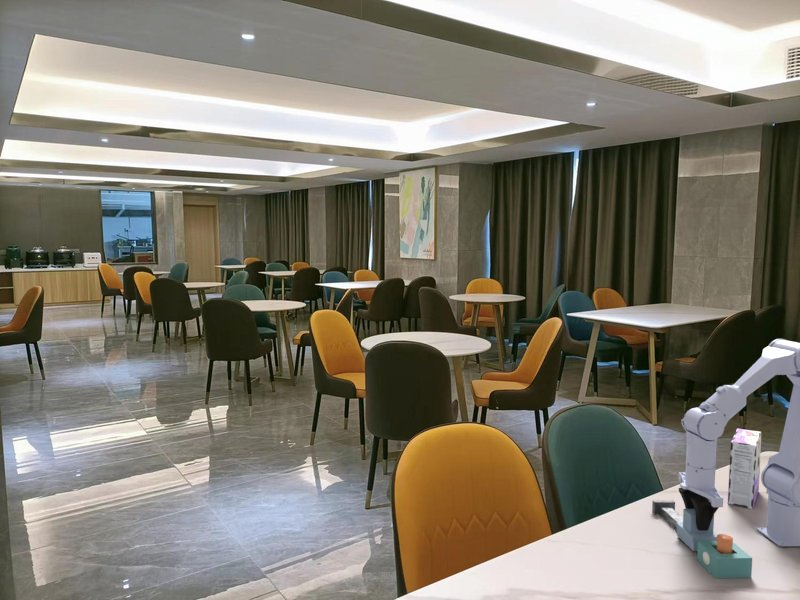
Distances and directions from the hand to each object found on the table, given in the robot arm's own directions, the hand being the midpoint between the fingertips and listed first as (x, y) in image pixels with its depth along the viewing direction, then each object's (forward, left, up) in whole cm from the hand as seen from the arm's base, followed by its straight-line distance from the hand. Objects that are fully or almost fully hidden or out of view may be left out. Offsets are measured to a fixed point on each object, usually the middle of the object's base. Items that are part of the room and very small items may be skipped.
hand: (698, 525), depth 130 cm
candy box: (-25, -24, -4) cm, 35 cm away
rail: (0, -5, -4) cm, 7 cm away
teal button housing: (0, +10, -4) cm, 11 cm away
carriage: (0, 0, -4) cm, 4 cm away
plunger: (0, +10, -2) cm, 10 cm away
